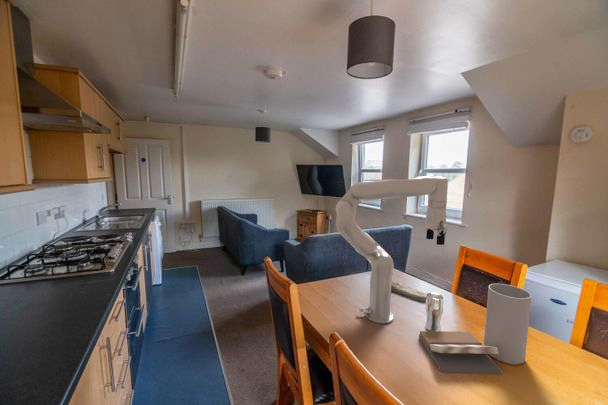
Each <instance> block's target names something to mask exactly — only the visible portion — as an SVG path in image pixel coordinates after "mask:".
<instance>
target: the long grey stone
mask: <svg viewBox="0 0 608 405" xmlns="http://www.w3.org/2000/svg"><path fill="white" fill-rule="evenodd" d="M391 292H394V293H398V294H401V295H402V296H406V297H408V298H411V299H412V300H415V301H419V302H422V303H426V296H427V293H425V292H422V291H419V290H417V289H414V288H412V287H409V286H406V285H404V284H402V283H400V282H398V281H395V280H392V281H391Z"/></svg>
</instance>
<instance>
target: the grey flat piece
mask: <svg viewBox="0 0 608 405" xmlns="http://www.w3.org/2000/svg"><path fill="white" fill-rule="evenodd" d="M418 339H419V341H420V342H421V343H422V345H423V346H424V348H425V349H426V351H427V352H428V354H429V355H430V356H431V359H432V360H433V362H434V363H435V365H436V366H437V368H438V369H439V370H440V372H441V373H442V374H444V373H445V374H446V373H447V374H448V373H450V374H454V373H455V374H502V368H501V367H500V366H499V365H498V364H497V363H496V362H495V361H494V360H493V359H492V358H491V356H490V355H489V354H480V353H439V352H435V351H431V350H430V344H444V345H483V344H482V342H481V341H480V340H478V338H477V337H475V336H474V334H472V332H470V331H447V330H446V331H445V330H444V331H442V330H441V331H429V330H425V331H424V330H421V331H419V335H418Z"/></svg>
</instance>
